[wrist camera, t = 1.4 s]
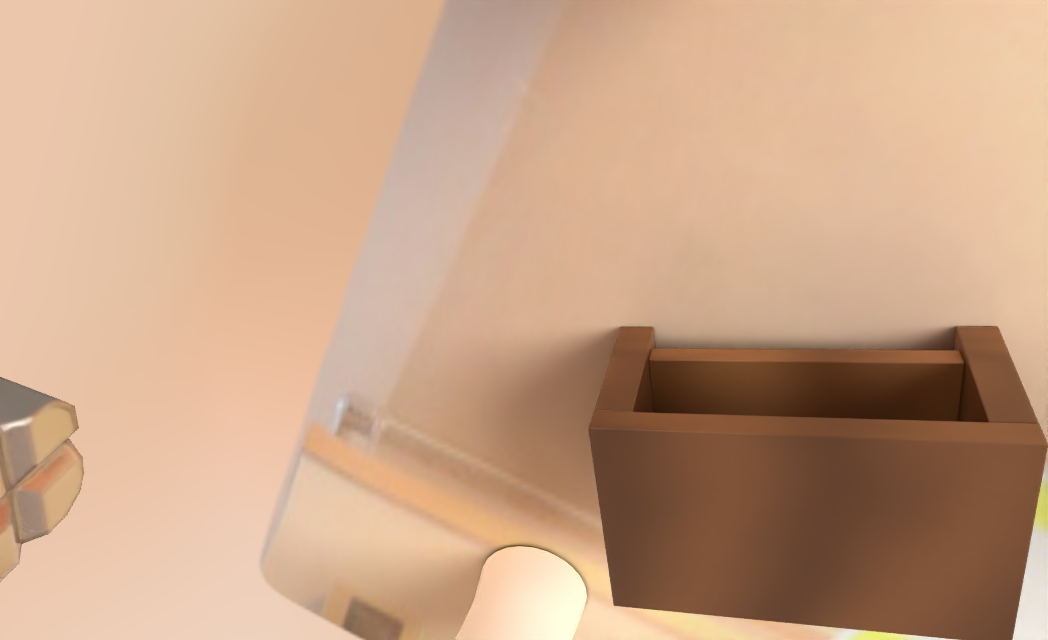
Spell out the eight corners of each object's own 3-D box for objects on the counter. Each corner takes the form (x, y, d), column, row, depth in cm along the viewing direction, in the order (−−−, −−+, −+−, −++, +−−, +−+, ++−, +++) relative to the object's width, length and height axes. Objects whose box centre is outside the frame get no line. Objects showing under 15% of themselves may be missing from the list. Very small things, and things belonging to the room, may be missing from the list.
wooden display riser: (638, 488, 45) (613, 606, 38) (620, 326, 40) (588, 428, 33) (973, 507, 40) (1011, 645, 33) (998, 325, 35) (1048, 444, 28)
